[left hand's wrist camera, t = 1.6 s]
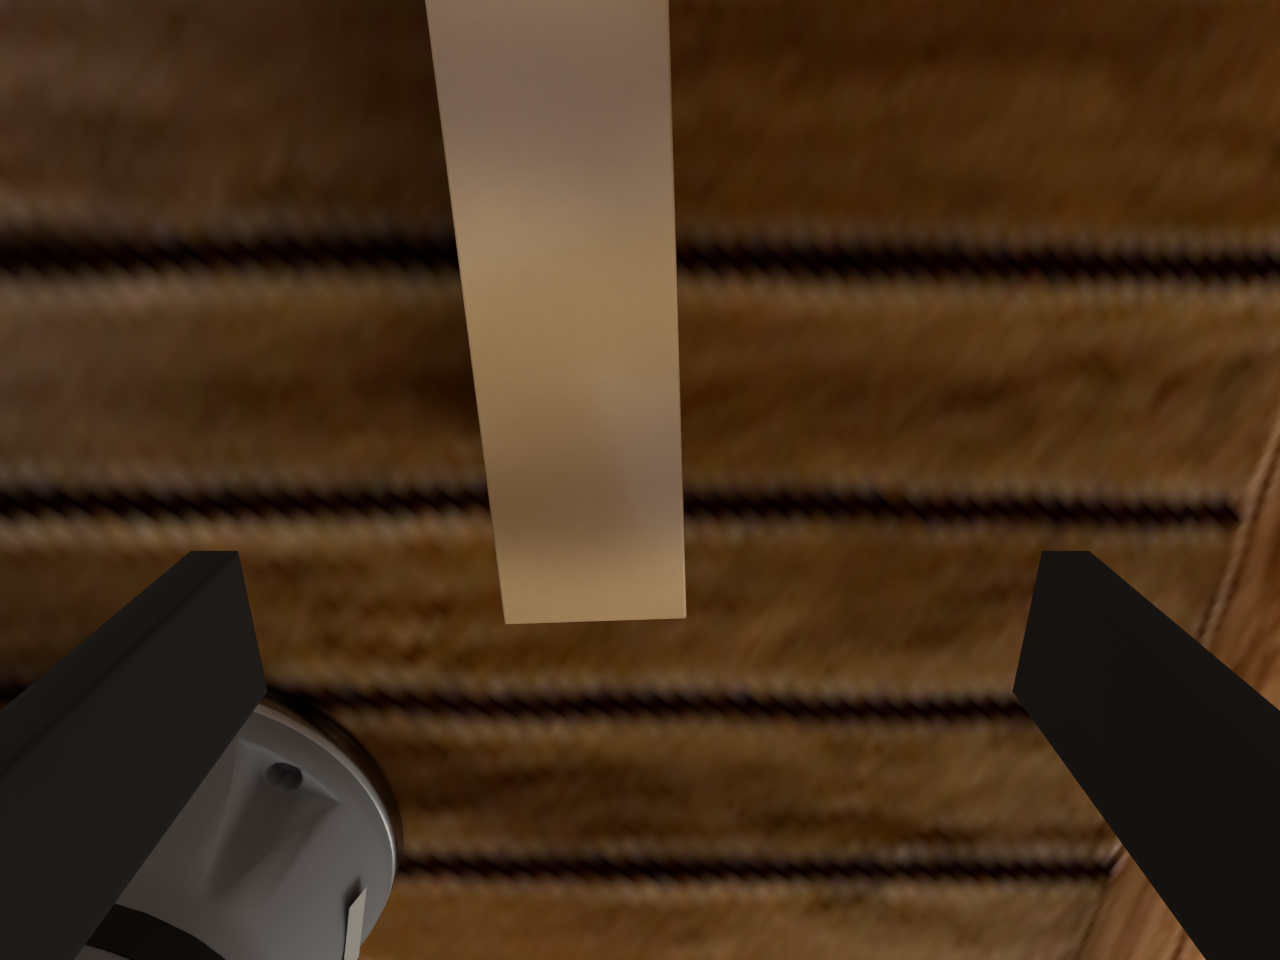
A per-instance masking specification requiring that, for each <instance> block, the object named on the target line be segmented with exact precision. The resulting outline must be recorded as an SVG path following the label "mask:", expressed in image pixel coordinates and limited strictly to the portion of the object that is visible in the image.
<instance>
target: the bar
mask: <svg viewBox="0 0 1280 960" xmlns="http://www.w3.org/2000/svg"><path fill="white" fill-rule="evenodd" d="M425 4H426V12H427V20H428V28H429V35H430V43H431V51H432V59H433V67H434V74H435V82H436V90H437V98H438V106H439V113H440V121H441V129H442V137H443V144H444V152H445V160H446V168H447V176H448V183H449V191H450V199H451V207H452V215H453V222H454V230H455V238H456V246H457V254H458V261H459V269H460V277H461V285H462V293H463V300H464V308H465V316H466V324H467V332H468V339H469V347H470V355H471V363H472V371H473V378H474V386H475V394H476V402H477V409H478V417H479V425H480V433H481V441H482V448H483V456H484V464H485V472H486V480H487V487H488V495H489V503H490V511H491V519H492V526H493V534H494V542H495V550H496V558H497V565H498V573H499V581H500V589H501V597H502V604H503V612H504V620H505V624H521V623H551V622H582V621H612V620H642V619H672V618H686V585H685V550H684V515H683V480H682V445H681V411H680V376H679V341H678V306H677V271H676V237H675V202H674V167H673V132H672V98H671V63H670V28H669V0H425Z"/></svg>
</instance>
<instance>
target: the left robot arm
mask: <svg viewBox="0 0 1280 960" xmlns="http://www.w3.org/2000/svg"><path fill="white" fill-rule="evenodd" d="M1013 693H1014V694H1015V696H1016V697H1017V698H1018V700H1019V701H1020V702H1021V704H1022V705H1023V707H1024V708H1025V709H1026V711H1027V712H1028V714H1029V715H1030V716H1031V718H1032V719H1033V721H1034V722H1035V723H1036V725H1037V726H1038V727H1039V729H1040V730H1041V732H1042V733H1043V734H1044V736H1045V737H1046V739H1047V740H1048V741H1049V743H1050V744H1051V745H1052V747H1053V748H1054V750H1055V751H1056V752H1057V754H1058V755H1059V757H1060V758H1061V759H1062V761H1063V762H1064V764H1065V765H1066V766H1067V768H1068V769H1069V770H1070V772H1071V773H1072V775H1073V776H1074V777H1075V779H1076V780H1077V782H1078V783H1079V784H1080V786H1081V787H1082V788H1083V790H1084V791H1085V793H1086V794H1087V795H1088V797H1089V798H1090V800H1091V801H1092V802H1093V804H1094V805H1095V807H1096V808H1097V809H1098V811H1099V812H1100V813H1101V815H1102V816H1103V818H1104V819H1105V820H1106V822H1107V823H1108V825H1109V826H1110V827H1111V829H1112V830H1113V831H1114V833H1115V834H1116V836H1117V837H1118V838H1119V840H1120V841H1121V843H1122V844H1123V845H1124V847H1125V848H1126V850H1127V851H1128V852H1129V854H1130V855H1131V856H1132V858H1133V859H1134V861H1135V862H1136V863H1137V865H1138V866H1139V868H1140V869H1141V870H1142V872H1143V873H1144V874H1145V876H1146V877H1147V879H1148V880H1149V881H1150V883H1151V884H1152V886H1153V887H1154V888H1155V890H1156V891H1157V893H1158V894H1159V895H1160V897H1161V898H1162V899H1163V901H1164V902H1165V904H1166V905H1167V906H1168V908H1169V909H1170V911H1171V912H1172V913H1173V915H1174V916H1175V917H1176V919H1177V920H1178V922H1179V923H1180V924H1181V926H1182V927H1183V929H1184V930H1185V931H1186V933H1187V934H1188V936H1189V937H1190V938H1191V940H1192V941H1193V942H1194V944H1195V945H1196V947H1197V948H1198V949H1199V951H1200V952H1201V954H1202V955H1203V956H1204V958H1205V959H1206V960H1280V711H1279V710H1278V709H1277V708H1276V707H1275V706H1273V705H1272V704H1271V703H1270V702H1269V701H1267V700H1266V699H1265V698H1264V697H1263V696H1261V695H1260V694H1259V693H1258V692H1257V691H1255V690H1254V689H1253V688H1252V687H1251V686H1250V685H1248V684H1247V683H1246V682H1245V681H1244V680H1242V679H1241V678H1240V677H1239V676H1238V675H1236V674H1235V673H1234V672H1233V671H1232V670H1230V669H1229V668H1228V667H1227V666H1226V665H1224V664H1223V663H1222V662H1221V661H1220V660H1219V659H1217V658H1216V657H1215V656H1214V655H1213V654H1211V653H1210V652H1209V651H1208V650H1207V649H1205V648H1204V647H1203V646H1202V645H1201V644H1199V643H1198V642H1197V641H1196V640H1195V639H1193V638H1192V637H1191V636H1190V635H1189V634H1187V633H1186V632H1185V631H1184V630H1183V629H1182V628H1180V627H1179V626H1178V625H1177V624H1176V623H1174V622H1173V621H1172V620H1171V619H1170V618H1168V617H1167V616H1166V615H1165V614H1164V613H1162V612H1161V611H1160V610H1159V609H1158V608H1156V607H1155V606H1154V605H1153V604H1152V603H1150V602H1149V601H1148V600H1147V599H1146V598H1145V597H1143V596H1142V595H1141V594H1140V593H1139V592H1137V591H1136V590H1135V589H1134V588H1133V587H1131V586H1130V585H1129V584H1128V583H1127V582H1125V581H1124V580H1123V579H1122V578H1121V577H1119V576H1118V575H1117V574H1116V573H1115V572H1114V571H1112V570H1111V569H1110V568H1109V567H1108V566H1106V565H1105V564H1104V563H1103V562H1102V561H1100V560H1099V559H1098V558H1097V557H1096V556H1094V555H1093V554H1092V553H1091V552H1090V551H1042V554H1041V559H1040V564H1039V568H1038V573H1037V578H1036V583H1035V587H1034V592H1033V597H1032V602H1031V606H1030V611H1029V616H1028V621H1027V625H1026V630H1025V635H1024V640H1023V645H1022V649H1021V654H1020V659H1019V664H1018V668H1017V673H1016V678H1015V683H1014V687H1013ZM402 851H403V830H402V823H401V818H400V814H399V810H398V806H397V804H396V801H395V799H394V796H393V794H392V791H391V790H390V788H389V786H388V784H387V782H386V780H385V778H384V777H383V775H382V774H381V772H380V771H379V769H378V768H377V766H376V765H375V764H374V763H373V761H372V760H371V759H370V758H369V756H368V755H367V754H366V753H365V752H364V751H363V750H362V749H361V748H360V747H359V746H358V745H357V744H356V743H355V742H354V741H353V740H352V739H351V738H350V737H349V736H348V735H346V734H345V733H344V732H343V731H342V730H341V729H339V728H338V727H337V726H335V725H334V724H333V723H331V722H330V721H328V720H327V719H326V718H324V717H322V716H321V715H319V714H318V713H316V712H314V711H313V710H311V709H309V708H307V707H306V706H304V705H302V704H300V703H298V702H296V701H294V700H292V699H289V698H287V697H285V696H282V695H280V694H277V693H275V692H272V691H269V690H267V687H266V683H265V678H264V673H263V668H262V664H261V659H260V654H259V649H258V645H257V640H256V635H255V630H254V626H253V621H252V616H251V611H250V606H249V602H248V597H247V592H246V587H245V583H244V578H243V573H242V568H241V564H240V559H239V554H238V551H190V552H189V553H188V554H187V555H186V556H184V557H183V558H182V559H181V560H180V561H178V562H177V563H176V564H175V565H174V566H172V567H171V568H170V569H169V570H168V571H166V572H165V573H164V574H163V575H162V576H161V577H159V578H158V579H157V580H156V581H155V582H153V583H152V584H151V585H150V586H149V587H147V588H146V589H145V590H144V591H143V592H141V593H140V594H139V595H138V596H137V597H135V598H134V599H133V600H132V601H131V602H130V603H128V604H127V605H126V606H125V607H124V608H122V609H121V610H120V611H119V612H118V613H116V614H115V615H114V616H113V617H112V618H110V619H109V620H108V621H107V622H106V623H104V624H103V625H102V626H101V627H100V628H98V629H97V630H96V631H95V632H94V633H93V634H91V635H90V636H89V637H88V638H87V639H85V640H84V641H83V642H82V643H81V644H79V645H78V646H77V647H76V648H75V649H73V650H72V651H71V652H70V653H69V654H67V655H66V656H65V657H64V658H63V659H61V660H60V661H59V662H58V663H57V664H56V665H54V666H53V667H52V668H51V669H50V670H48V671H47V672H46V673H45V674H44V675H42V676H41V677H40V678H39V679H38V680H36V681H35V682H34V683H33V684H32V685H30V686H29V687H28V688H27V689H26V690H25V691H23V692H22V693H21V694H20V695H19V696H17V697H16V698H15V699H14V700H13V701H11V702H10V703H9V704H8V705H7V706H5V707H4V708H3V709H2V710H1V711H0V960H357V959H358V957H359V949H360V946H361V944H362V943H363V942H364V941H365V939H366V938H367V936H368V935H369V934H370V932H371V930H372V929H373V927H374V925H375V923H376V922H377V920H378V918H379V916H380V914H381V912H382V910H383V909H384V907H385V905H386V902H387V900H388V898H389V895H390V892H391V890H392V887H393V884H394V881H395V879H396V876H397V873H398V870H399V866H400V862H401V859H402Z"/></svg>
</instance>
